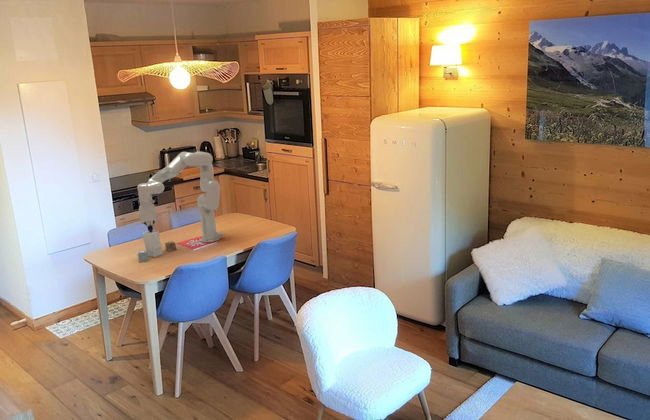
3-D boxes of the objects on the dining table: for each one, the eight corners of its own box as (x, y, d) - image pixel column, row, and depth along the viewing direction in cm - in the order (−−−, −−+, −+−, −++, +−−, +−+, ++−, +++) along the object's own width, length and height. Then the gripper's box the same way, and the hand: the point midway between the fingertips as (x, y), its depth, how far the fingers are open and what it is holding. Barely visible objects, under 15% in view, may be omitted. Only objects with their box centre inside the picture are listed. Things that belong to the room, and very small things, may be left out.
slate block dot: (148, 258, 348) (147, 249, 347) (147, 261, 344) (146, 252, 342) (140, 260, 348) (138, 250, 346) (139, 262, 343) (137, 253, 341)
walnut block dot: (173, 248, 366) (172, 240, 365) (176, 250, 362) (175, 242, 361) (166, 250, 363) (164, 242, 362) (168, 251, 359) (167, 244, 358)
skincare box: (163, 254, 355) (159, 231, 351) (155, 257, 350) (151, 234, 346) (153, 252, 359) (150, 229, 355) (145, 256, 354) (142, 232, 350)
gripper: (158, 200, 352) (162, 228, 356) (133, 204, 346) (138, 232, 351) (159, 202, 345) (163, 231, 350) (134, 206, 340) (138, 235, 344)
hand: (150, 231), depth 350 cm, fingers closed
